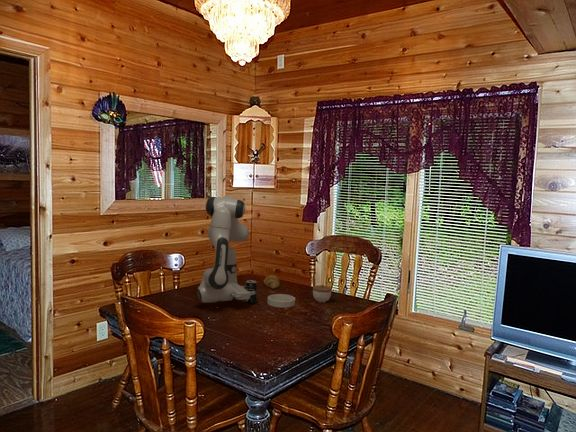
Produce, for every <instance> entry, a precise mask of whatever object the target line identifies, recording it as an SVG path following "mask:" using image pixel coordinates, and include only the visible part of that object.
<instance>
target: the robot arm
mask: <svg viewBox="0 0 576 432" xmlns="http://www.w3.org/2000/svg"><path fill="white" fill-rule="evenodd" d="M204 208H205V212H206V213H207V215H209V216H210V218H211V220H210V224H209V227H208V228H207V234H206V235H207V237H208V240H209V241H210V242H211V244H212V246H213V247H214V251H215V252H214V253H215V255H214V264H213V266H214V267H209V268H206V269H205V270H204V271H203V273H202V278H201V281H200V284H199V286H198V287H197V289H196V296H197V299H198V300H199V301H200V302H201V303H206V304H207V303H217V302H229V301H232V300H234V298H235V300H239V301H240V300H241V301H242V300H244V301H245V299H250V296H251V295H254V294H255V291H250V292H249V291H247V290H246V289H245V285H244V286H243V285H239V283H238V277H237V267H238V265H237V250H236V249H235V248H233V247H232V246H230V245H229V242H231V243H233V242H235V243H238V242H239V243H240V242H245V241H246V240H248V238H249V236H250V231H249V228H248V227H247V226H246V225H245V224H243V223H241V221H239V219H241V218H243V217H244V215H245V212H246V205H245V202H244V201H243V200H241V199H235V197H234V196H231V195H225V196H222V197H219V196H217V197H216V196H209V198H207V200H206V202H205V207H204Z"/></svg>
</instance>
